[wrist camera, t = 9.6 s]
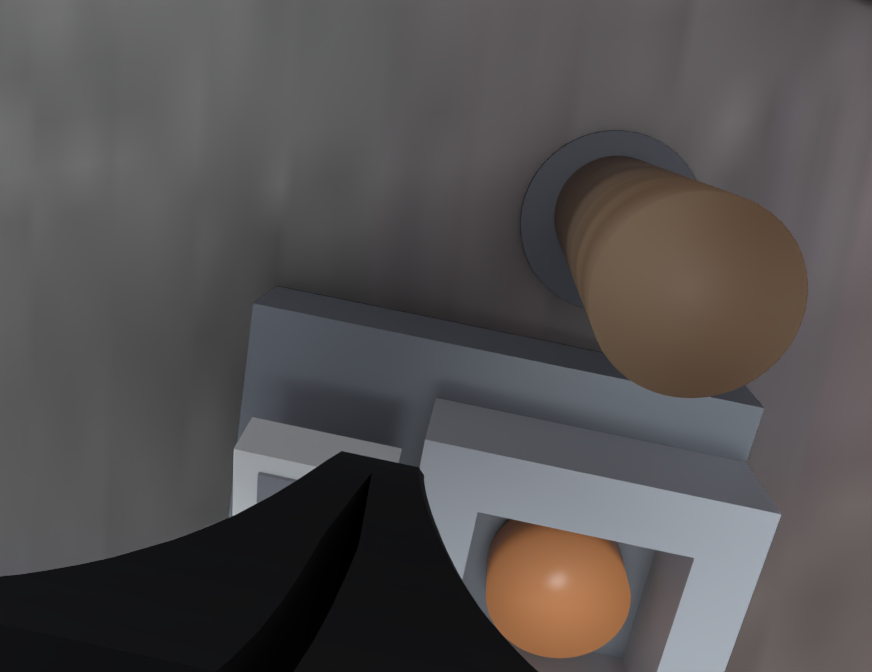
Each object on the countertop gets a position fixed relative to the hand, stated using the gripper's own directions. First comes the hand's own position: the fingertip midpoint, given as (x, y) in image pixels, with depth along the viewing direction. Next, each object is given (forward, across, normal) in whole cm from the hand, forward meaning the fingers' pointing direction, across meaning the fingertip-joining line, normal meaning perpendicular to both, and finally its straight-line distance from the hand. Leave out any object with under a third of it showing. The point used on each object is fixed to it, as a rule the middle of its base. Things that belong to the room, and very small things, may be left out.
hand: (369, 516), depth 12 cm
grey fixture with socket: (+10, -2, +5) cm, 11 cm away
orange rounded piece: (+8, -4, +5) cm, 10 cm away
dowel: (+9, -4, -4) cm, 11 cm away
